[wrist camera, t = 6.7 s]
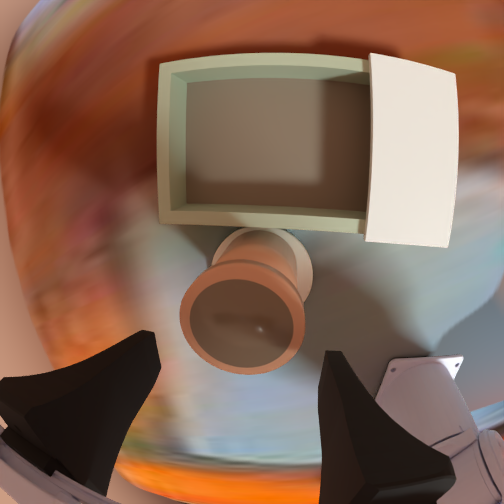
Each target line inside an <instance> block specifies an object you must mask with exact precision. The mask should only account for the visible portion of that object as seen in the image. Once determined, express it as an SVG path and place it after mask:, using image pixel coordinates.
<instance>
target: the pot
mask: <svg viewBox="0 0 504 504" xmlns="http://www.w3.org/2000/svg"><path fill="white" fill-rule="evenodd" d="M180 324H181V328H182V331H183V334H184V336H185V338H186V340H187V342H188V343H189V345H190V346H191V348H192V349H193V350H194V351H195V352H196V353H197V354H198V355H199V356H200V357H201V358H202V359H204V360H205V361H206V362H208V363H210V364H211V365H213V366H215V367H217V368H219V369H222V370H224V371H227V372H231V373H236V374H245V375H252V374H261V373H266V372H269V371H272V370H275V369H277V368H279V367H281V366H283V365H284V364H285V363H287V362H288V361H289V360H290V359H291V358H292V357H294V355H295V354H296V353H297V351H298V350H299V348H300V346H301V344H302V342H303V339H304V334H305V312H304V305H303V301H302V298H301V296H300V294H299V292H298V283H297V261H296V257H295V254H294V252H293V250H292V248H291V246H290V245H289V244H288V243H287V242H286V241H285V240H284V239H283V238H281V237H280V236H278V235H276V234H274V233H272V232H269V231H263V230H254V231H248V232H245V233H243V234H241V235H239V236H237V237H236V238H235V239H234V240H233V241H232V242H231V243H230V244H229V245H228V247H227V248H226V249H225V251H224V252H223V254H222V255H221V256H220V258H219V259H218V260H217V262H216V263H215V265H213V266H211V267H209V268H208V269H206V270H205V271H203V272H202V273H201V274H200V275H199V276H198V277H197V278H196V280H195V281H194V282H193V283H192V285H191V286H190V287H189V289H188V290H187V292H186V293H185V295H184V297H183V299H182V302H181V306H180Z"/></svg>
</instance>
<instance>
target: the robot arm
mask: <svg viewBox="0 0 504 504" xmlns="http://www.w3.org/2000/svg"><path fill="white" fill-rule="evenodd" d="M462 361H463V356H462V355H461V354H456V355H446V356H434V357H420V358H400V359H393V360H391V361H390V362H389V364H388V367H387V370H386V373H385V375H384V378H383V381H382V383H381V386H380V389H379V391H378V394H377V396H376V399H375V400H374V399H373V397H372V396H371V395H370V394H369V393H368V391H367V390H366V389H365V387H364V386H363V384H362V383H361V382H360V380H359V379H358V377H357V376H356V374H355V373H354V371H353V370H352V368H351V367H350V365H349V363H348V362H347V360H346V358H345V357H344V355H343V353H342V352H341V351H326V352H325V357H324V362H323V367H322V372H321V377H320V381H319V386H318V415H319V425H320V436H321V448H322V470H321V485H320V497H319V504H504V440H503V439H502V437H501V436H500V435H499V434H498V432H496V431H494V430H487V429H486V430H484V431H483V432H482V433H480V432H479V430H478V428H477V426H476V424H475V422H474V419H473V417H472V415H471V413H470V411H469V409H468V407H467V405H466V403H465V401H464V399H463V397H462V395H461V393H460V391H459V389H458V387H457V385H456V384H455V382H454V380H453V379H454V377H455V375H456V373H457V371H458V369H459V367H460V365H461V363H462ZM392 368H394V369H392ZM391 369H392V370H391ZM160 370H161V363H160V359H159V354H158V349H157V344H156V339H155V334H154V332H151V331H145V330H141V331H139V332H137V333H135V334H133V335H131V336H129V337H128V338H126V339H124V340H122V341H120V342H119V343H117V344H115V345H113V346H111V347H110V348H108V349H106V350H104V351H102V352H100V353H98V354H96V355H94V356H92V357H90V358H88V359H86V360H83V361H81V362H79V363H76V364H73V365H71V366H68V367H65V368H61V369H58V370H54V371H51V372H47V373H42V374H37V375H30V376H22V377H4V378H3V379H2V380H1V381H0V416H1V417H2V418H3V420H4V421H5V423H6V424H7V425H8V427H7V428H6V429H4V428H3V427H2V426H1V425H0V487H1V488H2V489H3V490H4V491H5V492H6V493H7V494H8V495H9V496H11V497H12V498H13V499H14V500H15V501H16V502H17V503H18V504H81V503H82V504H120V503H118V502H115V501H113V500H111V499H109V498H106V495H107V490H108V486H109V482H110V478H111V474H112V471H113V468H114V465H115V462H116V459H117V456H118V453H119V451H120V448H121V446H122V443H123V441H124V438H125V436H126V434H127V431H128V429H129V427H130V425H131V423H132V421H133V420H134V418H135V416H136V415H137V413H138V411H139V410H140V408H141V406H142V405H143V403H144V401H145V400H146V398H147V397H148V395H149V393H150V391H151V390H152V388H153V386H154V384H155V382H156V380H157V377H158V375H159V372H160Z"/></svg>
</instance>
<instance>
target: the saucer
mask: <svg viewBox="0 0 504 504" xmlns="http://www.w3.org/2000/svg"><path fill="white" fill-rule="evenodd" d="M254 230H263V231H269V232H272V233H274V234H276V235H278V236H280V237H281V238H283V239H284V240H285V241H286V242H287V243H288V244H289V245H290V246H291V248H292V250H293V252H294V254H295V257H296V261H297V283H298V292H299V294H300V296H301V298H302V301H303V303H304V301H305V300H306V298H307V297H308V295H309V293H310V290H311V287H312V281H313V270H312V263H311V259H310V257H309V254H308V252H307V250H306V249H305V247H304V246H303V244H302V243H301V242H300V241H299V240H298V239H297V238H296V237H295V236H294V235H292V234H291V233H290V232H288V231H286V230H284V229H280V228H260V227H243V228H240V229H238V230H236V231H235V232H233V233H231V234H230V235H229V236H228V237H227V238H226V239H225V240H224V241H223V242H222V243H221V244H220V246H219V247H218V249H217V251H216V253H215V255H214V257H213V261H212V266H213V265H215V263H216V262H217V260H218V259H219V258H220V256H221V255H222V254H223V252H224V251H225V249H226V248H227V247H228V245H229V244H230V243H231V242H232V241H233V240H234V239H235V238H236V237H237V236H239V235H241V234H243V233H245V232H248V231H254Z"/></svg>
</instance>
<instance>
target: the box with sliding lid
mask: <svg viewBox="0 0 504 504" xmlns="http://www.w3.org/2000/svg"><path fill="white" fill-rule="evenodd" d="M368 58H369V60H364V59H357V58H350V57H341V56H332V55H320V54H304V53H245V54H229V55H217V56H207V57H199V58H191V59H184V60H178V61H172V62H166V63H161V64H160V67H159V82H158V103H157V187H158V209H159V224H186V225H214V226H239V227H260V228H280V229H298V230H315V231H331V232H346V233H360V234H364V240H365V241H367V242H381V243H395V244H408V245H421V246H433V247H446V248H448V244H449V238H450V232H451V226H452V219H453V212H454V204H455V195H456V184H457V170H458V142H459V129H458V101H457V88H456V78H455V74H454V73H451V72H448V71H445V70H441V69H438V68H435V67H431V66H428V65H424V64H420V63H417V62H413V61H408V60H404V59H400V58H395V57H390V56H385V55H380V54H374V53H370V54H369V55H368Z"/></svg>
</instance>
